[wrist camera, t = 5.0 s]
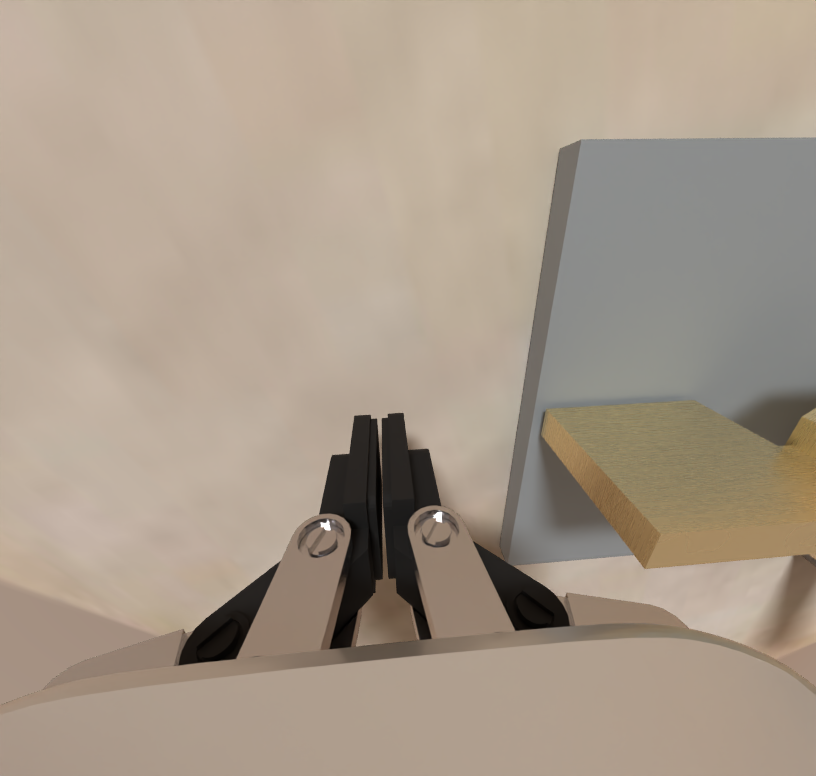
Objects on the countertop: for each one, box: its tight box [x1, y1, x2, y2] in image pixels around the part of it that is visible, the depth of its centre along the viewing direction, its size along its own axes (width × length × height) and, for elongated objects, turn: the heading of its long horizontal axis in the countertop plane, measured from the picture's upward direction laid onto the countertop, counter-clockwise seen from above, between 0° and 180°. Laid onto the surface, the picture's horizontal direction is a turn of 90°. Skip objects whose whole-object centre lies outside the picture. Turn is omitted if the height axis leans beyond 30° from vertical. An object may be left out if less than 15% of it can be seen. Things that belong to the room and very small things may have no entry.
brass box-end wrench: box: [541, 400, 816, 569], centre depth 11 cm, size 14×8×6 cm, turn 91°
